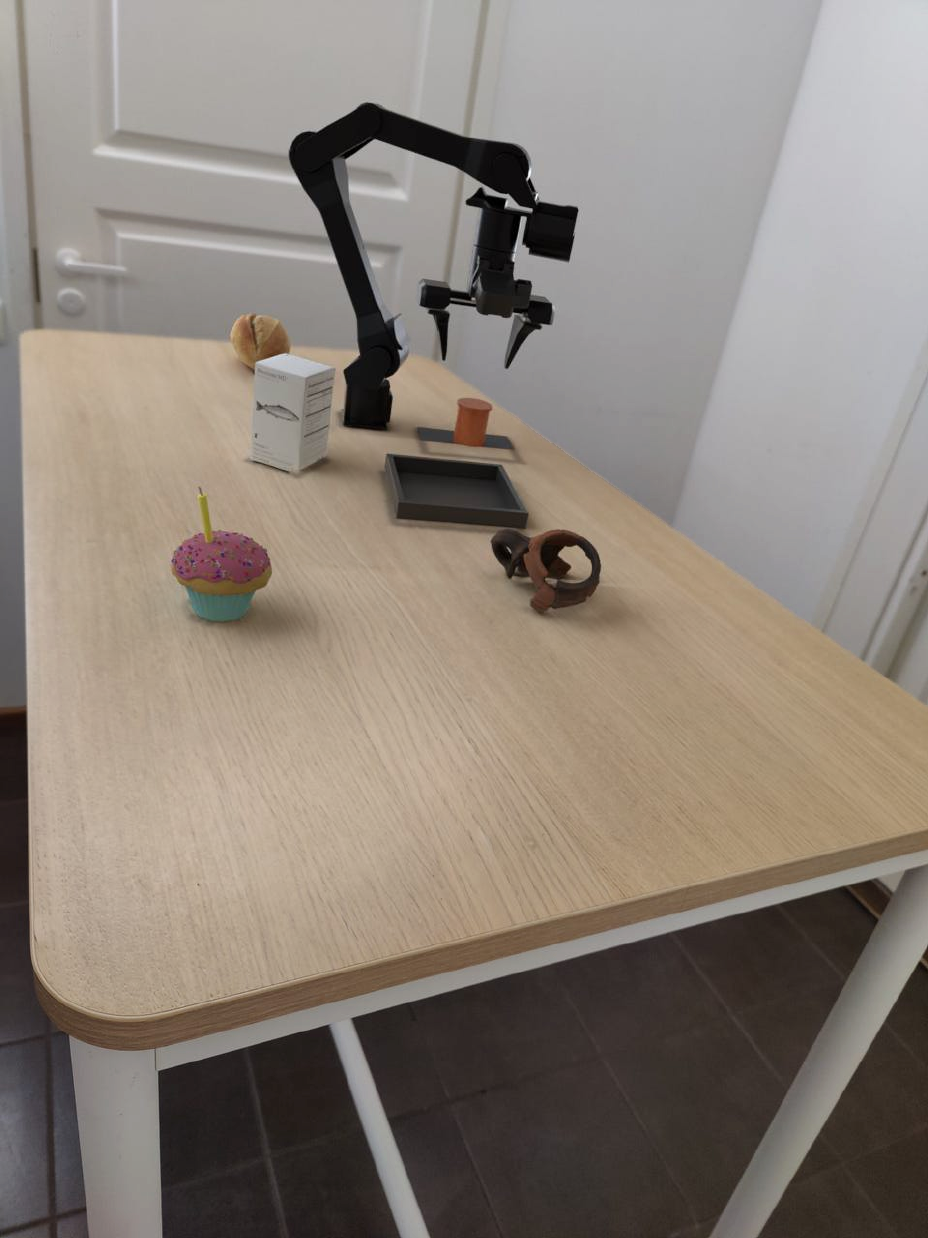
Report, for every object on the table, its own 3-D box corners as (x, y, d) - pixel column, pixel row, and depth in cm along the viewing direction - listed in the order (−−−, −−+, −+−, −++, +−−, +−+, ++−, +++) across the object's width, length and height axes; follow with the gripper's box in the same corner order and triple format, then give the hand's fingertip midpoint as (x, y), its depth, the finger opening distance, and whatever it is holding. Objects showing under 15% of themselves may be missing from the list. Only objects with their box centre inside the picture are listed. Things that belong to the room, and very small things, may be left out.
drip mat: (425, 453, 124) (426, 450, 124) (417, 429, 133) (417, 426, 132) (520, 462, 127) (521, 459, 127) (506, 438, 136) (506, 436, 136)
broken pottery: (588, 584, 98) (619, 543, 91) (563, 650, 93) (593, 613, 86) (492, 535, 97) (516, 491, 90) (461, 598, 92) (483, 557, 85)
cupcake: (182, 637, 75) (183, 508, 69) (162, 589, 81) (161, 467, 75) (280, 626, 79) (289, 504, 73) (254, 581, 85) (260, 465, 79)
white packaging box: (247, 460, 111) (252, 360, 105) (279, 446, 117) (285, 351, 111) (298, 477, 109) (306, 376, 103) (328, 461, 115) (337, 365, 109)
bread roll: (235, 376, 141) (236, 325, 137) (225, 350, 152) (226, 302, 148) (295, 380, 144) (298, 330, 140) (281, 354, 156) (283, 308, 152)
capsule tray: (395, 524, 102) (398, 502, 101) (383, 473, 115) (386, 453, 114) (524, 534, 105) (528, 513, 104) (498, 483, 119) (502, 464, 117)
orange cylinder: (453, 447, 127) (460, 407, 124) (448, 435, 131) (454, 395, 128) (488, 451, 128) (495, 411, 125) (482, 438, 133) (489, 399, 130)
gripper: (433, 246, 109) (416, 371, 117) (576, 269, 113) (550, 388, 121) (423, 233, 118) (408, 350, 126) (555, 254, 122) (532, 366, 130)
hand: (474, 364), depth 125 cm, fingers open, 9 cm apart
